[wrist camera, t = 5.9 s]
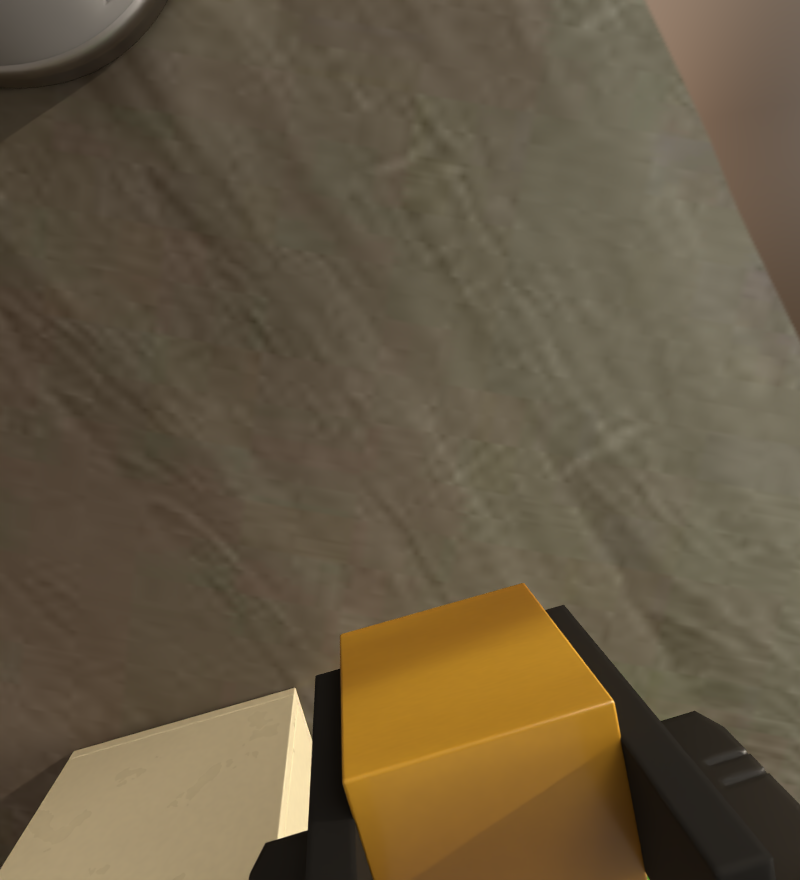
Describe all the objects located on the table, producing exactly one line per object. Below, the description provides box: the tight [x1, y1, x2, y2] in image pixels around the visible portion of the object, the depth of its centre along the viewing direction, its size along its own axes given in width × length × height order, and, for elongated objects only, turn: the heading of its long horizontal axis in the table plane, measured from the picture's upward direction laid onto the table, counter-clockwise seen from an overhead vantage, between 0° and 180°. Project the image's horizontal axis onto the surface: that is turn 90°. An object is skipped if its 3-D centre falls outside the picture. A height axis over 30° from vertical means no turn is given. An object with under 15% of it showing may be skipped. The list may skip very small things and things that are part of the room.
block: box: [340, 583, 648, 880], centre depth 12 cm, size 4×4×4 cm
